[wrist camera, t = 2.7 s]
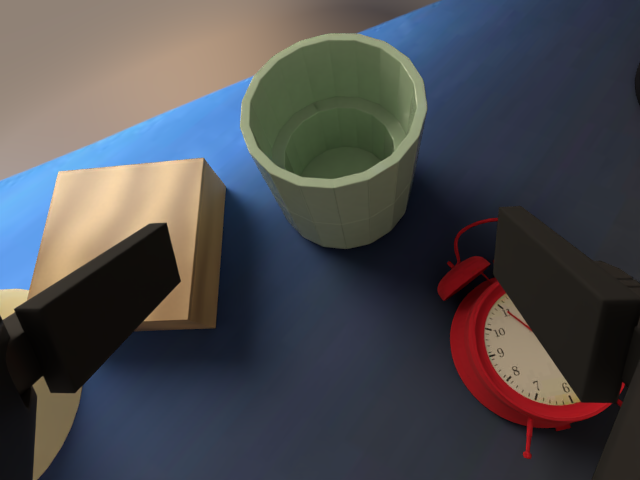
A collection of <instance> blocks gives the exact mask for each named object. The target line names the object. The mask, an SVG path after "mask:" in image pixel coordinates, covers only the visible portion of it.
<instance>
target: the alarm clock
mask: <svg viewBox="0 0 640 480" xmlns="http://www.w3.org/2000/svg"><path fill="white" fill-rule="evenodd" d="M494 221H498V218H491V219H486V220H481V221H478V222H475V223H473V224H470V225H468V226H466V227H465V228H463V229H462V230H460V231H459V232H458V234H457V235H456V237H455V240H454V250H455V254H456V258H457V264H456V265H455V266H454V265H453V264H452V263H451V261H448V262H447V264H448V265H449V267H450V268H451V270H450V271H449V272H448V273H447V274H446V275H445V276H444V277H443V278H442V279H441V281H440V282H439V285H438V288H437V290H438V294H439V296H440V297H441V299H442V300H443V301H445V300H447V299H449V298H450V297H451V296H453V295H454V294H455V293H457V292H458V291H459V290H461V289H462V288H463V287H465V286H466V285H467V284H469V283H470V282H471V281H472V280H474V279H475V278H476V277H477V276H479V275H480V274H482V275H483V276H484V277H485V278H486V279H487V281H484V282H483V283H481V284H480V285H478V286H477V287H475V288H474V289H473V290H472V291H471V292H470V293H468V294H467V296H466V297H465V298H464V299H463V300H462V302H461V303H460V305H459V306H458V308H457V310H456V312H455V315H454V318H453V321H452V325H451V331H450V346H451V353H452V358H453V361H454V364H455V367H456V369H457V372H458V374H459V376H460V377H461V379H462V381H463V383H464V384H465V386H466V387H467V388H468V390H469V391H470V392H471V393H472V394H473V396H474V397H475V398H476V399H477V400H478V401H479V402H480V403H481V404H483V405H484V406H485V407H486V408H488V409H489V410H490V411H492V412H494V413H495V414H497V415H499V416H500V417H502V418H504V419H506V420H509V421H511V422H514V423H517V424H520V425H524V426H527V434H526V435H527V441H526V451H525V452H523V456H524V457H525V458H527V459H531V456H532V455H531V454H530V444H531V437H532V430H533V427H536V428H553V427H555V428H556V430H555V431H560V430H564V429H567V428H571V426H570V423H573V422H577V421H582V420H585V419H589V418H591V417H593V416H595V415H597V414H599V413H600V412H602V411H603V410H605V409H606V408H607V407H609V406H610V405H611V404H612V403H581V401H580V400H579V398H578V397H577V396H576V394H575V393H574V391H573V390H572V388H571V387H570V385H569V384H568V382H567V381H566V380H565V378H564V377H563V375H562V374H561V372H560V371H559V369H558V368H557V366H556V365H555V364H554V362H553V361H552V359H551V358H550V356H549V355H548V353H547V352H546V350H545V349H544V348H543V346H542V345H541V343H540V342H539V340H538V339H537V337H536V336H535V334H534V333H533V332H532V330H531V329H530V327H529V326H528V324H527V323H526V321H525V320H524V318H523V317H522V316H521V314H520V313H519V311H518V310H517V308H516V307H515V305H514V304H513V302H512V301H511V300H510V298H509V297H508V295H507V294H506V292H505V291H504V289H503V288H502V286H501V285H500V284H499V282H498V281H497V279H496V278H495V277H494V278H492V279H488V278H487V276H486V275H485V274H484V273H483V271H484V270H486V269H487V268H488V267H489V266H490V263H489V262H488V261H487V260H486V259H484V258H483V257H480V256H474V257H470V258H468V259H466V260H464V261H462V262H460V261H461V260H460V256H459V252H458V246H457V244H458V239H459V237H460V235H461V234H462V233H463V232H465V231H466V230H467V229H469V228H471V227H474V226H476V225H479V224H483V223H487V222H494ZM493 263H494V260H493ZM624 386H625V384H624V383H623V382H622V386H621V390H620V393H621V392H622V390H623V388H624ZM619 395H620V394H619ZM622 403H623V402H622V401H621V400H620V399H619V398H618V401H617V404H618V405H619V406H620V407H621V405H622Z"/></svg>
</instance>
